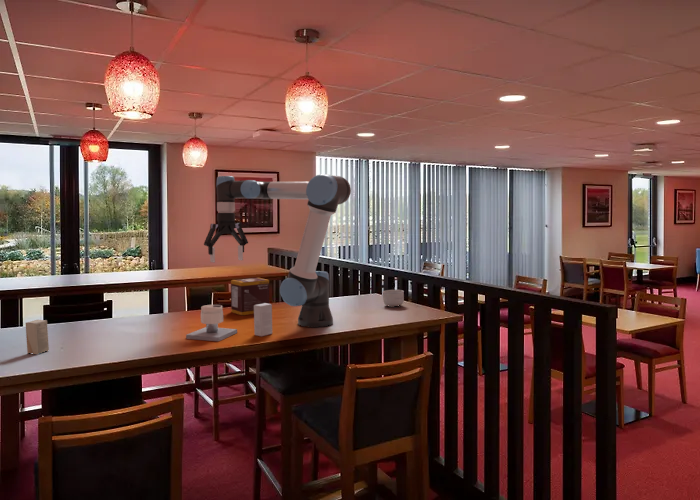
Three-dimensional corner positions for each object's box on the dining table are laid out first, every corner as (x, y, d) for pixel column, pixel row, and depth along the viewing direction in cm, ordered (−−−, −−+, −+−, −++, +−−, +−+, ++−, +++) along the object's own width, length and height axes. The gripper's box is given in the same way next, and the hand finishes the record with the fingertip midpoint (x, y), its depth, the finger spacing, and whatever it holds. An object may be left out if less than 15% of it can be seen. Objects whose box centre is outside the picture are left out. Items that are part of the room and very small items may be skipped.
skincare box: (265, 332, 209) (265, 302, 208) (272, 333, 207) (272, 304, 206) (253, 334, 205) (253, 304, 204) (260, 336, 202) (260, 306, 201)
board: (237, 332, 208) (237, 329, 208) (218, 341, 195) (218, 337, 194) (206, 330, 212) (206, 326, 212) (186, 338, 199) (186, 334, 198)
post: (220, 331, 205) (219, 310, 204) (214, 333, 200) (213, 313, 200) (210, 330, 206) (209, 310, 205) (204, 332, 202) (203, 312, 201)
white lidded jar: (197, 323, 200) (197, 306, 199) (207, 319, 208) (207, 302, 207) (217, 324, 198) (216, 307, 198) (226, 320, 206) (225, 303, 205)
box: (39, 350, 182) (38, 319, 181) (49, 351, 181) (48, 319, 180) (26, 354, 177) (24, 322, 176) (36, 355, 176) (34, 323, 175)
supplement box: (270, 311, 251) (269, 279, 250) (241, 315, 242) (240, 282, 240) (259, 308, 259) (258, 277, 258) (230, 312, 249) (230, 280, 248)
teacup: (397, 309, 258) (397, 293, 257) (378, 306, 264) (378, 291, 263) (410, 304, 269) (410, 289, 269) (391, 302, 275) (391, 287, 275)
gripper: (246, 212, 236) (246, 258, 237) (195, 212, 219) (196, 262, 220) (255, 212, 230) (256, 259, 232) (203, 212, 213) (204, 263, 215)
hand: (226, 261), depth 226 cm, fingers open, 13 cm apart
